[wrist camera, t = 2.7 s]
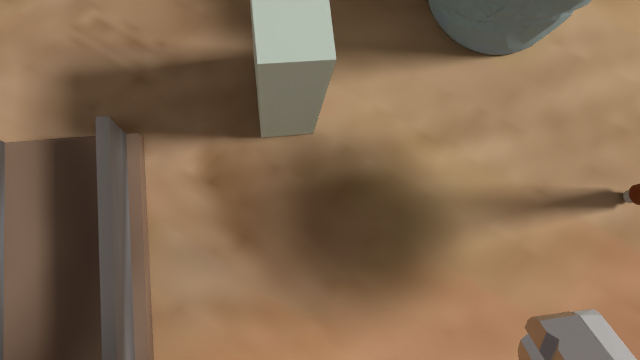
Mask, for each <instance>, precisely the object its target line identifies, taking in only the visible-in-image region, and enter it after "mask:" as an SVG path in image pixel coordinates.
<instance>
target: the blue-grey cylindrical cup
mask: <svg viewBox="0 0 640 360" xmlns="http://www.w3.org/2000/svg"><path fill="white" fill-rule="evenodd" d="M590 1H591V0H428V2H429V7H430V9H431V12H432V14H433V16H434V18H435V19H436V21H437V23H438V24H439V25H440V26H441V28H442V29H443V30H444V31H445V32H446V33H447V35H448V36H450V37H451V38H452V39H453V40H454V41H456V42H457V43H459V44H461V45H462V46H464V47H466V48H468V49H470V50H473V51H476V52H479V53H483V54H489V55H506V54H511V53H515V52H518V51H521V50H524V49H526V48H528V47H530V46H532V45H533V44H535V43H536V42H538V41H539V40H540V39H542V38H543V37H545V36H546V35H547V34H549V33H550V32H551V31H553V30H554V29H555V28H557V27H558V26H559V25H561V24H562V23H563V22H564V21H565V20H566V19H568V18H569V17H570V16H571V14H572V13H573V11H574V10H576V9H579V8H581V7H583V6H585V5H587V4H588V3H589V2H590Z"/></svg>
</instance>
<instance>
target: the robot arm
mask: <svg viewBox="0 0 640 360" xmlns="http://www.w3.org/2000/svg"><path fill="white" fill-rule="evenodd" d="M525 329H526V330H527V332H528V334H527V335H526V336H525V337H523V338H522V339H521V340H520V343H519V347H518V357H519V360H637V359H636V358H635V357H634V356H633V354H632V353H631V352H630V351H629V349H628V348H627V347H626V346H625V344H624V343H623V342H622V341H621V339H620V338H619V337H618V336H617V334H616V333H615V332H614V331H613V329H612V328H611V327H610V326H609V324H608V323H607V322H606V321H605V319H604V318H603V317H602V316H601V314H600V313H599V312H597V311H596V310H594V309H588V310H581V311H575V312H563V313H556V314H549V315H542V316H535V317H531V318H530V319H529V320H527V323H526V326H525Z"/></svg>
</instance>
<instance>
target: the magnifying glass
mask: <svg viewBox="0 0 640 360" xmlns="http://www.w3.org/2000/svg"><path fill="white" fill-rule="evenodd" d="M623 198H624V200H625V201H626V202H628V203H635V204H637V205H640V184H637V185H633V186H632V187H631V188H630V190H628V191H626V192H624V194H623Z"/></svg>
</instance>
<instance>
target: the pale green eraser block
mask: <svg viewBox="0 0 640 360" xmlns="http://www.w3.org/2000/svg"><path fill="white" fill-rule="evenodd" d="M250 7H251V23H252V38H253V54H254V65H255V76H256V87H257V98H258V109H259V120H260V131H261V138H263V137H276V136H289V135H302V134H313V132H314V129H315V126H316V123H317V119H318V116H319V113H320V110H321V107H322V104H323V100H324V97H325V94H326V91H327V88H328V85H329V81H330V78H331V75H332V72H333V69H334V66H335V62H336V52H335V44H334V36H333V27H332V19H331V11H330V3H329V0H250Z"/></svg>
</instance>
